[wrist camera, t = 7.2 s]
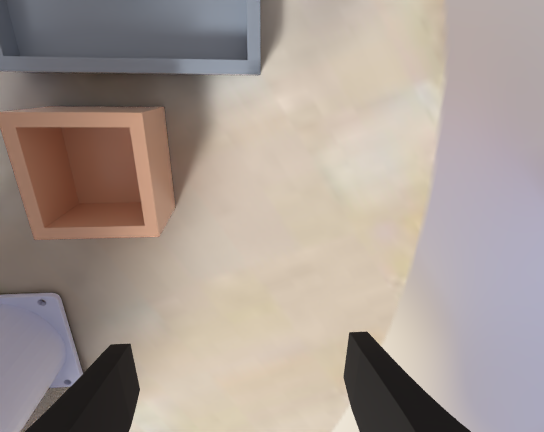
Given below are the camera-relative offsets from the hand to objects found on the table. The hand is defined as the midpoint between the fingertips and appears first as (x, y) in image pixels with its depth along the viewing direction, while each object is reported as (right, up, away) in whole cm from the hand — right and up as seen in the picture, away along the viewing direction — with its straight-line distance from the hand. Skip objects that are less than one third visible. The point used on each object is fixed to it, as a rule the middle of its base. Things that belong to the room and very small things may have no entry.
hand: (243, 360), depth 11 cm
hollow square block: (-8, +8, +7) cm, 13 cm away
